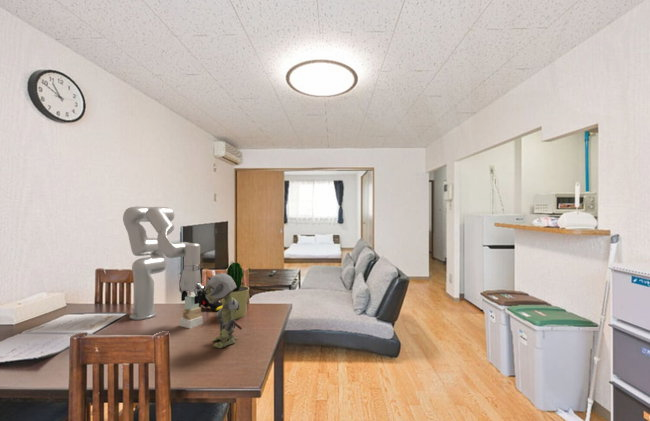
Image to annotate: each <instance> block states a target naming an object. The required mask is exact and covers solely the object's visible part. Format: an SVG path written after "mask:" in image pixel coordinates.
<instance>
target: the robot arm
mask: <svg viewBox="0 0 650 421" xmlns="http://www.w3.org/2000/svg"><path fill="white" fill-rule="evenodd" d="M122 216H123V217H122V222H123V225H124V227H125V229H126V232H127V235H128V236H127V237H128V240H129V245H130V249H131V253H132V254H133V255H134V256H136V257H141V258H138V259H136V260H134V262H133V263H132V265H131V269H132V275H133V307H132V308H131V309H130V310H131V311H132V314H130V315H129V319H131V320H135V321H137V320H139V321H140V320H146V319H151V318H154V317H155V316H157V314H158V312H157V311H155V309H154V307H155V304H154V302H155V281H154V279H153V277H152V275H154V274H159V273H163V272H164V271H165V270H166V268H167V266H168V265H167V258H168V259H177V258H183V270H182V272H181V279H180V282H179V283H178V285H179V289H180V293H181V294H180V298H181V300H180V301H181V302H185V297H186V296H189V294H188V292H190V293H194V295H196V296H195V298H194V304H198V303H200V301H201V295H202V293H203V290H204V287H205V286H203V285H202V277H201V276H202V275H201V244H199V243H193V242H187V241H182V242H180V241H179V242H171V240H170V239H169V238H168V236H169V235H170V234H172V233H173V231H174V229H175V225H174V224H173V222H172V221H174V219H175V211H174V210H173V209H172V208H170V207H168V206H140V205H139V206H137V205H136V206H129V207H128V208H126V209H125V211H124V212H123V215H122ZM141 222H142V223H143V222H144V223H146V222H149V223H150V225H151V226H152V227H153V228H154V230H155V232H156V233H157V234H158V235H157V237H150V238H149V237H148V236H147V231H146V229H145V227H144V226H143V225H142V224H141ZM145 256H149V257H145ZM197 291H198V293H197Z"/></svg>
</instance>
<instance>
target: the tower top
mask: <svg viewBox="0 0 650 421" xmlns="http://www.w3.org/2000/svg"><path fill="white" fill-rule="evenodd" d="M201 316H202V307H201V306H200V307H199V308H196V309H193V310H188V309H185V307H184V308H182V318H185V319H189V320H192V319H195V318H198V317H201Z"/></svg>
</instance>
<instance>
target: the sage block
mask: <svg viewBox="0 0 650 421" xmlns="http://www.w3.org/2000/svg"><path fill="white" fill-rule="evenodd" d="M195 296H196V295H195V294H191V295H188V296H186V297H185V300H184V308H185V309H188V310H193V309H196V308H199V303H198V304H194V298H195Z"/></svg>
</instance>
